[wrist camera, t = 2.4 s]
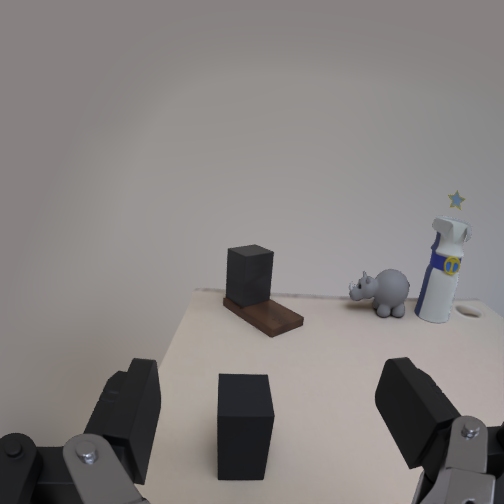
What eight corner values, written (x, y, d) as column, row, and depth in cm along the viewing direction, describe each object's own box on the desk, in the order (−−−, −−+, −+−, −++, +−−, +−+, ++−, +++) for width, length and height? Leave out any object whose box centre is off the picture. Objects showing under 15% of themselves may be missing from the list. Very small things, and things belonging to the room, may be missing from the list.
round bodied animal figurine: (341, 301, 62) (348, 260, 59) (396, 305, 61) (405, 265, 58) (347, 318, 55) (356, 273, 52) (407, 321, 54) (418, 278, 51)
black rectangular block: (217, 480, 23) (217, 415, 20) (218, 440, 27) (218, 373, 25) (263, 480, 23) (274, 416, 20) (259, 441, 28) (267, 374, 25)
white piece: (457, 325, 52) (486, 196, 45) (420, 322, 53) (448, 188, 46) (443, 307, 59) (467, 191, 52) (409, 304, 61) (432, 184, 54)
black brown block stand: (271, 337, 48) (278, 272, 45) (223, 305, 57) (225, 248, 54) (302, 325, 52) (311, 265, 49) (253, 297, 61) (257, 244, 58)
